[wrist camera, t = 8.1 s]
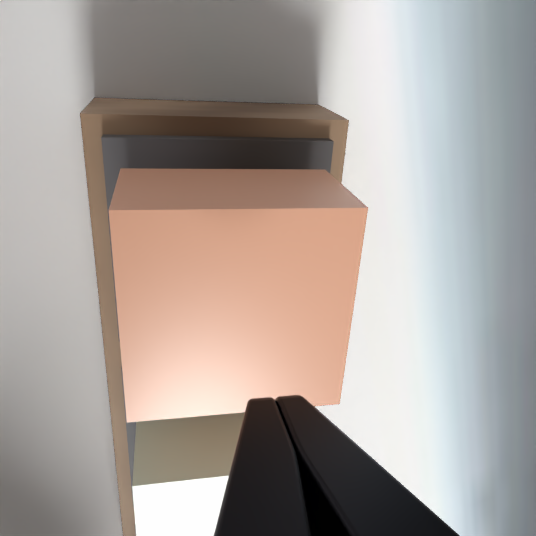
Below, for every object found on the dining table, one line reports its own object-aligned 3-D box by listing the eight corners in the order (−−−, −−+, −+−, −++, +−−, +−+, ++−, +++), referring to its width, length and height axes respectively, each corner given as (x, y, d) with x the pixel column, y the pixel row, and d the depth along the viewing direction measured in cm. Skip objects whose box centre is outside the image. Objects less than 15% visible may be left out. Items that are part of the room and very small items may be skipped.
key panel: (135, 557, 24) (131, 633, 21) (94, 97, 15) (77, 116, 12) (278, 537, 25) (294, 606, 22) (318, 104, 16) (353, 122, 13)
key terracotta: (133, 346, 14) (126, 422, 11) (120, 168, 12) (108, 210, 9) (307, 336, 15) (339, 404, 12) (325, 169, 13) (368, 207, 10)
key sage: (146, 520, 17) (142, 612, 14) (137, 403, 15) (132, 486, 12) (290, 502, 18) (312, 585, 15) (302, 390, 16) (330, 463, 13)
